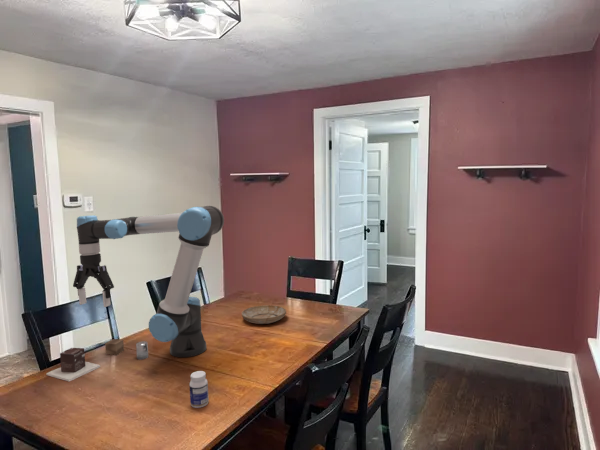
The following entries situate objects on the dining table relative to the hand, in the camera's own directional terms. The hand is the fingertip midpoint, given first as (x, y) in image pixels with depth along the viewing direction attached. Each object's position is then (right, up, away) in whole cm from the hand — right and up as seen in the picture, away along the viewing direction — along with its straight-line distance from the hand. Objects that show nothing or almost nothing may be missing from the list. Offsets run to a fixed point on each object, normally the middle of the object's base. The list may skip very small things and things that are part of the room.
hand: (94, 305), depth 168 cm
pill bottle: (+52, -25, -36) cm, 68 cm away
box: (-3, -23, -10) cm, 25 cm away
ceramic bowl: (+66, -17, +46) cm, 82 cm away
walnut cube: (+5, -22, +7) cm, 24 cm away
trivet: (-3, -24, -10) cm, 26 cm away
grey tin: (+19, -22, +2) cm, 29 cm away
